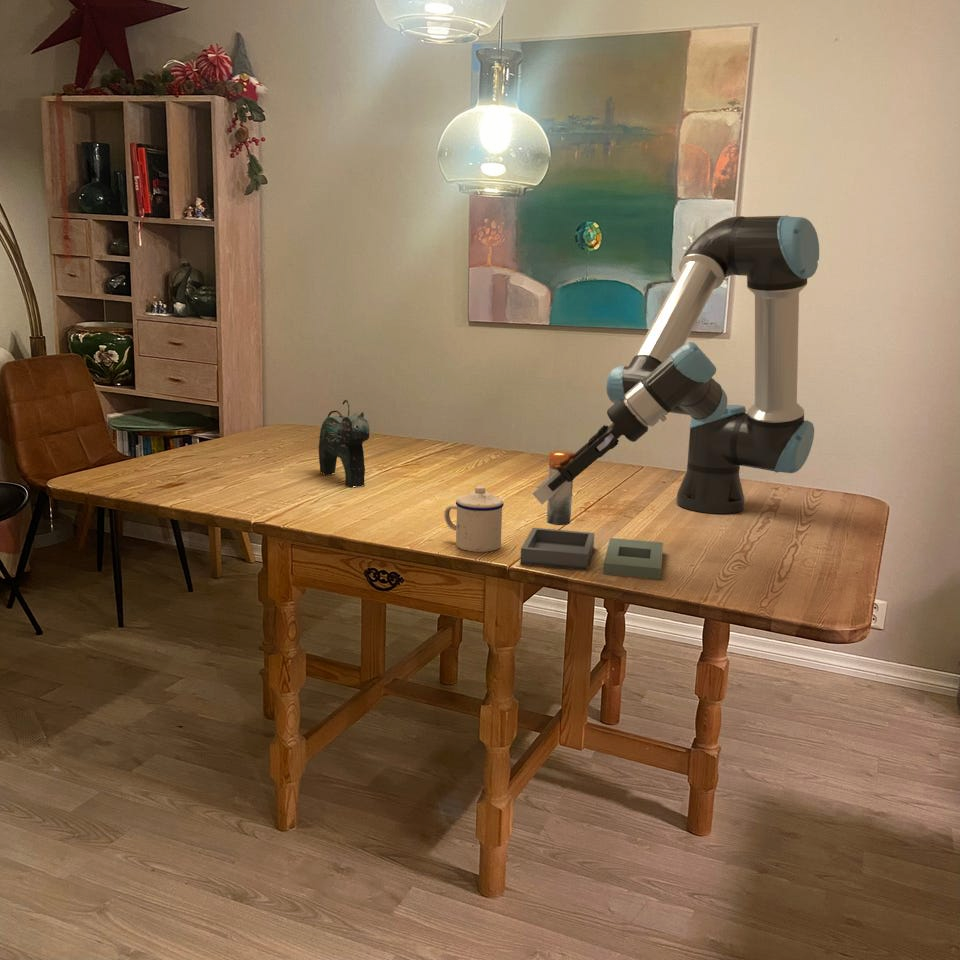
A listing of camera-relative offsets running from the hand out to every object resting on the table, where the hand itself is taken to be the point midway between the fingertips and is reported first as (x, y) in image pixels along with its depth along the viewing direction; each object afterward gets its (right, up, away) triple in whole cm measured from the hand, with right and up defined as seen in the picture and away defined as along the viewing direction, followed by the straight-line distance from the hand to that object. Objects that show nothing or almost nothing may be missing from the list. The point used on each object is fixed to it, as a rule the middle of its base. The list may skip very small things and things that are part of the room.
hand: (539, 495), depth 172 cm
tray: (+4, -11, +2) cm, 12 cm away
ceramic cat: (-45, +3, +56) cm, 72 cm away
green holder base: (+17, -12, 0) cm, 21 cm away
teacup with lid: (-13, -10, +8) cm, 18 cm away
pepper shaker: (+4, -5, 0) cm, 6 cm away
